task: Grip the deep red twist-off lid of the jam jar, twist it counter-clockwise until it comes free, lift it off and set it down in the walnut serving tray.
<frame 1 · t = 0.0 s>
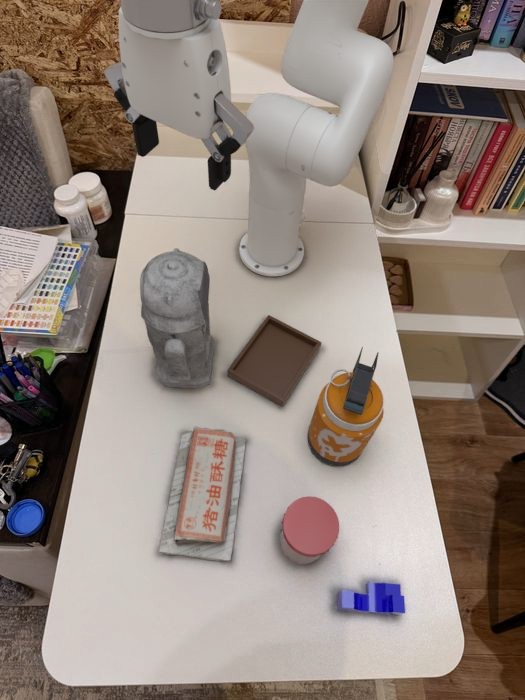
hand: (183, 165, 57), 37 cm above the table, tool pointing down, fingers open, 9 cm apart
packaged product: (205, 494, 75), on the table
jar: (302, 540, 72), on the table
cable holder: (366, 598, 69), on the table
canister: (336, 434, 81), on the table
lid: (310, 525, 64), point 10 cm above the table, screwed on, not yet turned
tray: (274, 362, 87), on the table
figurine: (185, 361, 87), on the table
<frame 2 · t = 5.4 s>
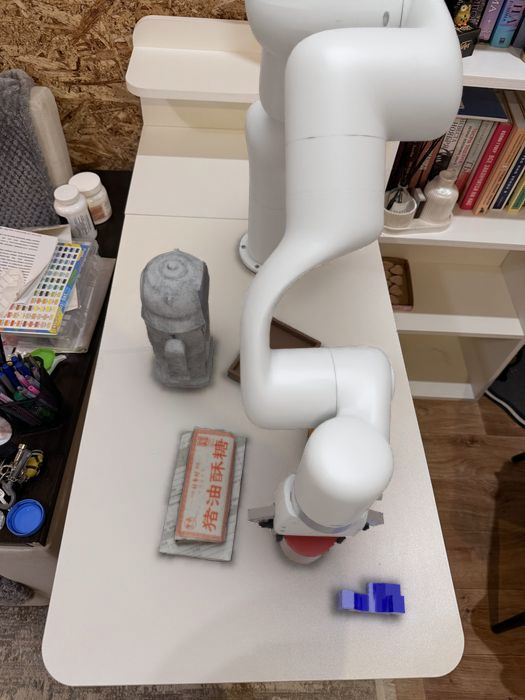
hand: (307, 530, 67), 7 cm above the table, tool pointing down, fingers closed on lid, 7 cm apart
lid: (310, 525, 64), point 10 cm above the table, screwed on, not yet turned, touching gripper
everything else where it was.
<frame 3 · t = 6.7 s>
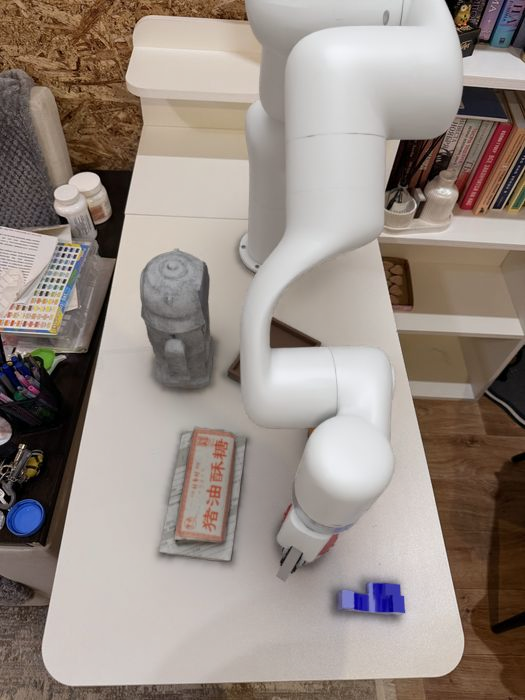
hand: (308, 530, 67), 7 cm above the table, tool pointing down, fingers closed on lid, 7 cm apart
lid: (311, 524, 64), point 10 cm above the table, turned 59° so far, risen 0.2 cm, still on its thread, touching gripper
everything else where it was.
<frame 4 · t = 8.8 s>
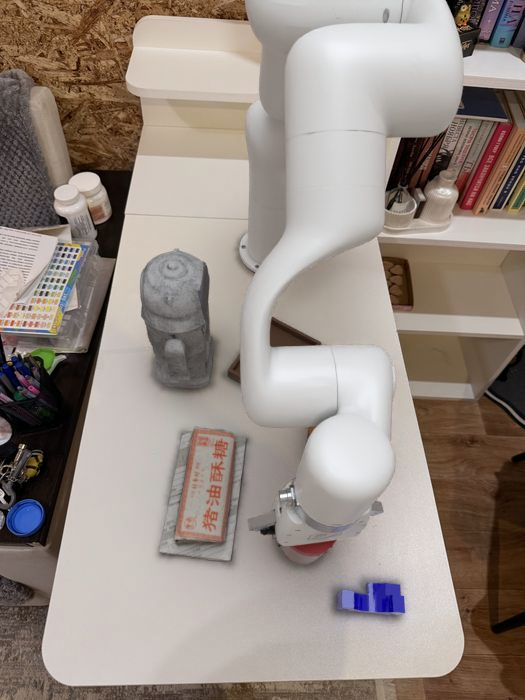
hand: (308, 529, 66), 7 cm above the table, tool pointing down, fingers closed on lid, 7 cm apart
lid: (311, 524, 64), point 10 cm above the table, off its thread, touching gripper
everything else where it was.
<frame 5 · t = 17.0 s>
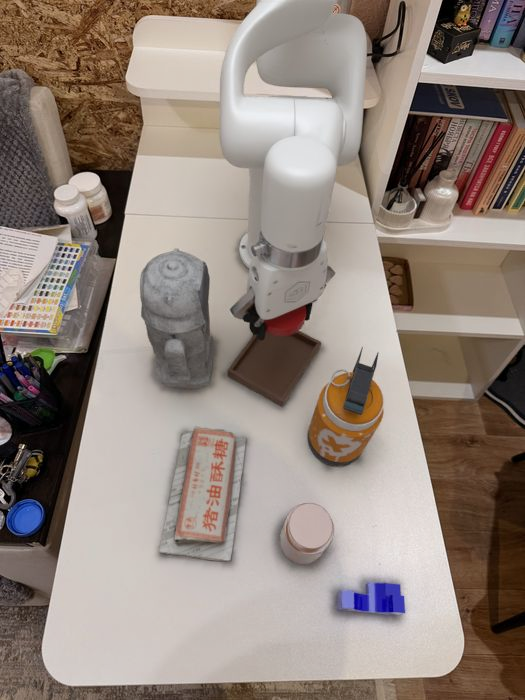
hand: (280, 322, 77), 12 cm above the table, tool pointing down, fingers closed on lid, 7 cm apart
lid: (281, 310, 74), point 16 cm above the table, off its thread, touching gripper
everything else where it was.
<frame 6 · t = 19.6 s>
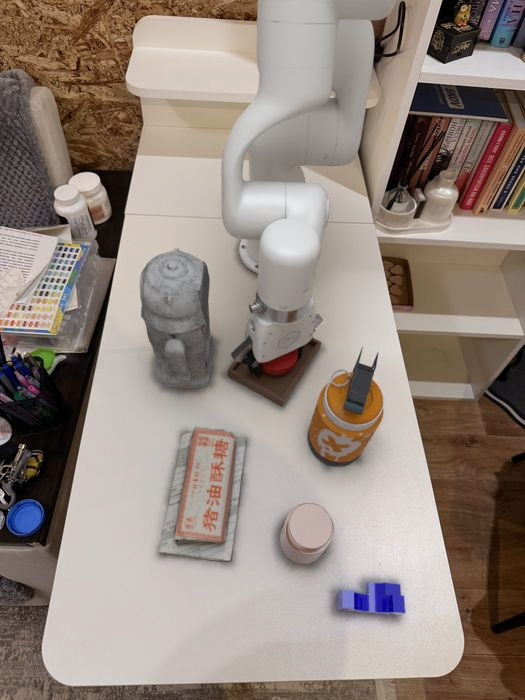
hand: (275, 361, 86), 1 cm above the table, tool pointing down, fingers closed on lid, 7 cm apart
lid: (276, 351, 84), point 4 cm above the table, off its thread, touching gripper
everything else where it was.
when the fingers open (2 cm above the table, at t = 29.1 s): lid drops 3 cm, resting on tray.
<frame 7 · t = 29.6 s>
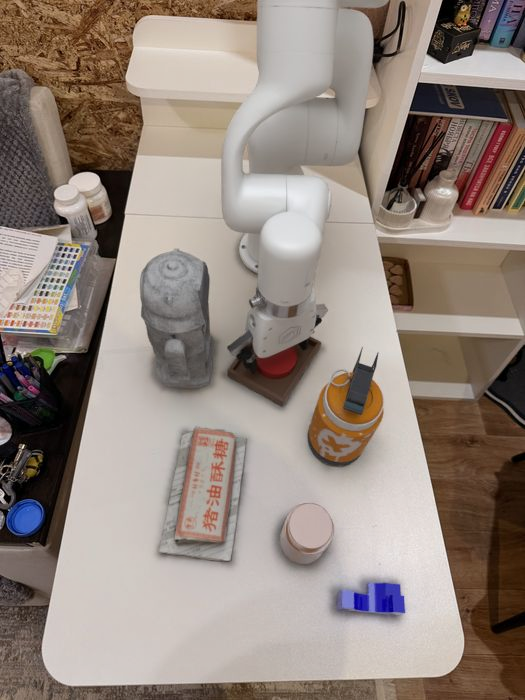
hand: (275, 354, 85), 2 cm above the table, tool pointing down, fingers open, 9 cm apart
lid: (275, 356, 85), point 2 cm above the table, off its thread, touching tray
everything else where it was.
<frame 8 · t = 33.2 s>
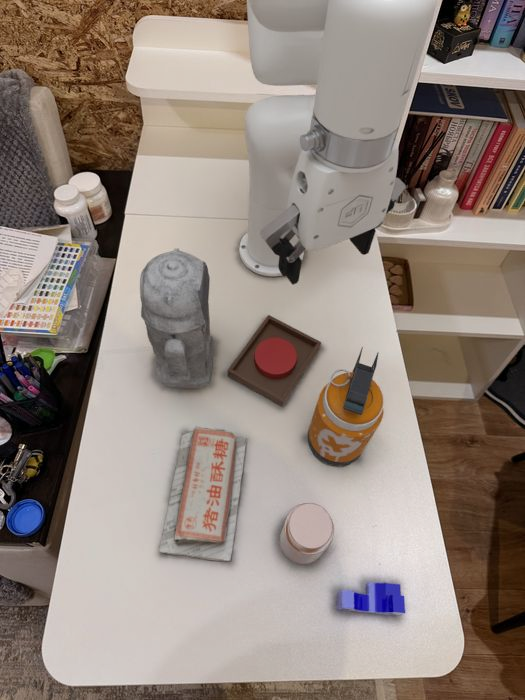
hand: (324, 260, 60), 30 cm above the table, tool pointing down, fingers open, 9 cm apart
nothing on the table moved.
at the end: lid inside the target area in the tray (0.1 cm from its centre), point 2.1 cm above the tray's base; the gripper is holding nothing; lid tilted 0° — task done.
